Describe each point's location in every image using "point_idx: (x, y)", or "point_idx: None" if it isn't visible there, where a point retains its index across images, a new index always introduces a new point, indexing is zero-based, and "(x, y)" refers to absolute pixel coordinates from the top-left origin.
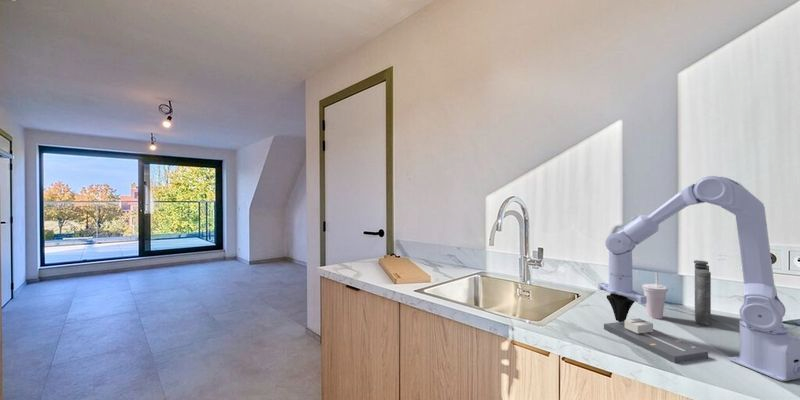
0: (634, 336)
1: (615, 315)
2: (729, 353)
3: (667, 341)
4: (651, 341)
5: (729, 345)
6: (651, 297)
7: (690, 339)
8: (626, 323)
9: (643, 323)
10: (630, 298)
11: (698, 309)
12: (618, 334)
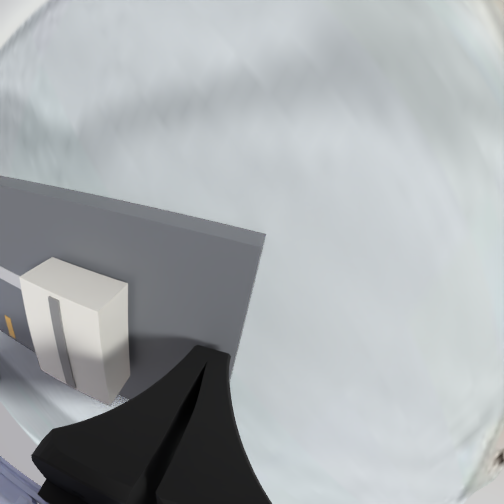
0: (47, 214)
1: (216, 372)
2: (6, 367)
3: (5, 290)
4: (5, 229)
5: (42, 415)
6: None
7: (71, 403)
8: (94, 296)
9: (42, 340)
10: (19, 482)
11: None
12: (140, 208)
